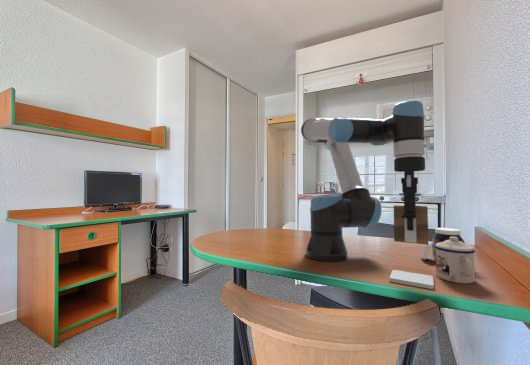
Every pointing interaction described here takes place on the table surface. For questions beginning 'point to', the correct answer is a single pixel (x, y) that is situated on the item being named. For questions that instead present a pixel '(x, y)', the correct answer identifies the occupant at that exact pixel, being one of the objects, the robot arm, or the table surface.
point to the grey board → (412, 279)
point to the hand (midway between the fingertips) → (411, 240)
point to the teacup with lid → (455, 261)
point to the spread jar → (441, 239)
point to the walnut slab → (420, 224)
